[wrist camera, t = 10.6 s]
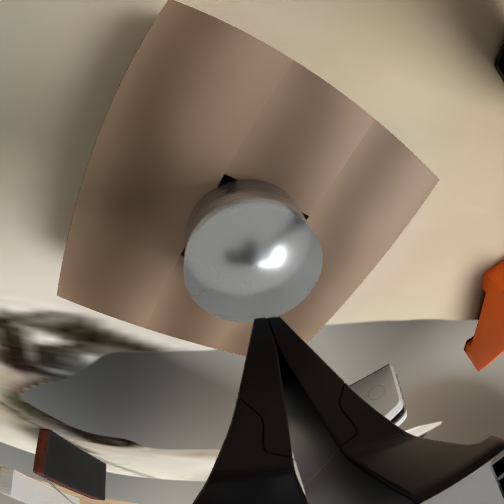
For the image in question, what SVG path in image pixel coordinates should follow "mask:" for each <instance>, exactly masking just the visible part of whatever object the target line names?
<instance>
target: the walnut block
mask: <svg viewBox="0 0 504 504" xmlns="http://www.w3.org/2000/svg"><path fill="white" fill-rule="evenodd" d="M224 174H226V175H228V176H230V177H232V178H235V179H237V180H241V179H255V180H262V181H265V182H269V183H271V184H274V185H276V186H278V187H279V188H281V189H282V190H284V191H285V192H286V193H287V194H288V195H289V196H290V197H291V198H292V199H293V200H294V202H295V203H296V205H297V206H298V208H299V210H300V211H301V213H302V214H303V216H304V217H305V219H306V220H307V222H308V224H309V225H310V227H311V228H312V230H313V231H314V233H315V235H316V236H317V238H318V240H319V242H320V245H321V249H322V256H323V262H322V269H321V273H320V276H319V279H318V281H317V283H316V285H315V286H314V288H313V289H312V291H311V292H310V293H309V295H308V296H307V297H306V298H305V299H304V300H303V301H302V302H300V303H299V304H298V305H297V306H295V307H294V308H293V309H291V310H289V311H287V312H286V313H284V314H281V315H279V317H281V318H282V319H283V320H284V321H285V322H286V323H287V324H288V325H289V326H290V327H291V328H292V329H293V330H294V332H295V333H296V334H297V335H298V336H299V337H300V338H301V339H302V340H303V341H304V342H305V343H306V344H307V343H308V342H309V341H310V340H311V339H312V338H313V337H314V335H315V334H316V333H317V332H318V331H319V330H320V329H321V328H322V327H323V326H324V325H325V324H326V323H327V321H328V320H329V319H330V318H331V317H332V316H333V315H334V314H335V313H336V312H337V310H338V309H339V308H340V307H341V306H342V305H343V304H344V303H345V301H346V300H347V299H348V298H349V297H350V296H351V295H352V293H353V292H354V291H355V290H356V289H357V288H358V286H359V285H360V284H361V283H362V282H363V280H364V279H365V278H366V277H367V276H368V274H369V273H370V272H371V271H372V270H373V268H374V267H375V266H376V265H377V263H378V262H379V261H380V260H381V258H382V257H383V256H384V255H385V253H386V252H387V251H388V250H389V248H390V247H391V246H392V244H393V243H394V242H395V241H396V239H397V238H398V237H399V235H400V234H401V233H402V231H403V230H404V229H405V227H406V226H407V225H408V223H409V222H410V221H411V219H412V218H413V217H414V215H415V214H416V212H417V211H418V210H419V208H420V207H421V206H422V204H423V203H424V201H425V200H426V198H427V197H428V196H429V194H430V193H431V191H432V190H433V188H434V187H435V185H436V184H437V182H438V181H439V179H438V178H437V177H436V176H435V175H434V174H433V172H432V171H431V170H430V169H429V168H428V167H427V166H426V165H425V164H424V163H423V162H422V161H421V160H420V159H419V158H418V157H416V156H415V155H414V154H413V153H412V152H411V151H410V150H409V149H408V148H407V147H406V146H405V145H404V144H403V143H402V142H401V141H399V140H398V139H397V138H396V137H395V136H394V135H393V134H392V133H390V132H389V131H388V130H387V129H386V128H385V127H384V126H382V125H381V124H380V123H379V122H378V121H376V120H375V119H374V118H373V117H372V116H370V115H369V114H368V113H367V112H366V111H364V110H363V109H362V108H360V107H359V106H358V105H357V104H355V103H354V102H353V101H352V100H350V99H349V98H348V97H346V96H345V95H344V94H342V93H341V92H340V91H338V90H337V89H335V88H334V87H333V86H331V85H330V84H328V83H327V82H326V81H324V80H323V79H321V78H320V77H318V76H317V75H315V74H314V73H312V72H311V71H309V70H308V69H306V68H305V67H303V66H302V65H300V64H299V63H297V62H296V61H294V60H292V59H291V58H289V57H287V56H286V55H284V54H283V53H281V52H279V51H277V50H276V49H274V48H272V47H271V46H269V45H267V44H265V43H264V42H262V41H260V40H258V39H256V38H255V37H253V36H251V35H249V34H247V33H245V32H243V31H241V30H239V29H237V28H235V27H233V26H231V25H229V24H227V23H225V22H223V21H221V20H219V19H217V18H214V17H212V16H210V15H208V14H206V13H203V12H201V11H199V10H196V9H194V8H192V7H189V6H187V5H184V4H182V3H179V2H176V1H174V0H168V1H167V3H166V4H165V6H164V7H163V9H162V10H161V12H160V13H159V15H158V16H157V18H156V20H155V21H154V23H153V25H152V26H151V28H150V30H149V31H148V33H147V35H146V36H145V38H144V40H143V42H142V43H141V45H140V47H139V49H138V51H137V52H136V54H135V56H134V58H133V60H132V62H131V64H130V66H129V68H128V70H127V72H126V74H125V76H124V78H123V80H122V82H121V84H120V86H119V88H118V90H117V93H116V95H115V97H114V99H113V101H112V104H111V106H110V108H109V111H108V113H107V115H106V118H105V120H104V123H103V125H102V128H101V130H100V133H99V135H98V138H97V141H96V143H95V146H94V149H93V151H92V154H91V157H90V160H89V163H88V166H87V169H86V172H85V175H84V178H83V181H82V185H81V188H80V191H79V195H78V198H77V202H76V206H75V209H74V213H73V217H72V221H71V225H70V229H69V233H68V238H67V242H66V247H65V251H64V256H63V262H62V267H61V272H60V278H59V284H58V291H57V296H59V297H62V298H64V299H67V300H69V301H71V302H74V303H77V304H79V305H82V306H84V307H87V308H89V309H92V310H95V311H97V312H100V313H103V314H106V315H108V316H111V317H114V318H117V319H120V320H123V321H125V322H128V323H131V324H134V325H137V326H140V327H143V328H146V329H150V330H153V331H156V332H159V333H162V334H166V335H169V336H172V337H176V338H179V339H182V340H186V341H189V342H193V343H197V344H200V345H204V346H208V347H211V348H215V349H219V350H223V351H227V352H231V353H235V354H239V355H244V356H246V355H247V350H248V346H249V341H250V336H251V331H252V326H253V322H234V321H228V320H224V319H221V318H218V317H216V316H214V315H212V314H210V313H208V312H206V311H205V310H203V309H202V308H201V307H200V306H199V305H198V304H197V303H196V302H195V301H194V300H193V299H192V297H191V295H190V294H189V292H188V290H187V287H186V284H185V280H184V253H185V237H186V226H187V222H188V218H189V216H190V214H191V212H192V210H193V208H194V207H195V205H196V204H197V203H198V201H199V200H200V199H201V198H202V197H203V196H204V195H205V194H207V193H208V192H209V191H211V190H212V189H214V188H216V187H217V186H218V184H219V183H220V181H221V179H222V177H223V176H224Z"/></svg>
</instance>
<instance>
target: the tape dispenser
mask: <svg viewBox="0 0 504 504" xmlns="http://www.w3.org/2000/svg"><path fill="white" fill-rule="evenodd" d="M482 289H483V290H484V291H485V292H486V294H485V299H484V303H483V306H482V310H481V314H480V318H479V321H478V325H477V328H476V331H475V334H474V336H473V337H471V338H470V339H468V340H467V341H466V343H465V347H464V351H465V352H466V354H467V355H468V357H469V358H470V360H471V361H472V363H473V364H474V366H475V367H476V369H477V370H478V372H479V371H480V370H482V369H483V368H485V367H486V366H487V365H489V364H490V363H491V362H492V361H494V360H495V359H496V358H497V357H498V356H499V355H500V354H502V353H503V352H504V260H503V261H502V262H500V263H499V264H497V265H496V266H494V267H493V268H491V269H490V270H488V271H487V272H485V274H484V280H483V285H482Z"/></svg>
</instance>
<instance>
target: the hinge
mask: <svg viewBox="0 0 504 504" xmlns="http://www.w3.org/2000/svg"><path fill="white" fill-rule="evenodd" d="M349 387H350V388H351V389H352V390H353V391H355V392H356V393H357V394H358V395H359V396H360V397H361V398H362V399H363V400H364V401H366V402H367V403H368V404H369V405H370V406H372V407H373V408H374V409H375V410H377V411H378V412H379V413H381V414H382V415H383V416H385V417H386V418H387V419H389V420H390V421H391V422H393V423H394V424H395V425H397V426H399V425H400V424H401V423H402V422H403V421H404V420H405V418H406V416H407V410H406V406H405V402H404V398H403V395H402V391H401V388H400V385H399V381H398V377H397V375H396V374H395V372H394V368H393V367H392V366H391V365H390V364H387V365H386V366H384V367H382V368H381V369H379V370H377V371H375V372H373V373H372V374H370V375H368V376H366V377H364V378H363V379H361V380H359V381H357V382H355V383H353V384H351V385H349ZM292 455H293V452H292ZM292 458H294V455H293V457H292ZM294 460H295V458H294Z"/></svg>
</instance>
